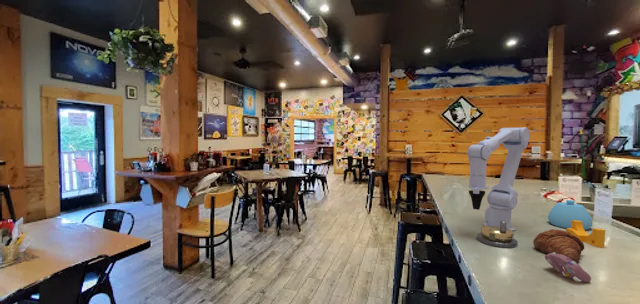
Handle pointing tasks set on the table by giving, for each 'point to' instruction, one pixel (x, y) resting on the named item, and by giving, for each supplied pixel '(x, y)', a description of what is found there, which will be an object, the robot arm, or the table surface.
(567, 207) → the sugar bowl
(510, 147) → the robot arm
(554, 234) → the pastry
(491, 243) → the base plate
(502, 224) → the round lid with handle
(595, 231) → the pipe clamp
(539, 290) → the table surface
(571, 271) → the video game controller
